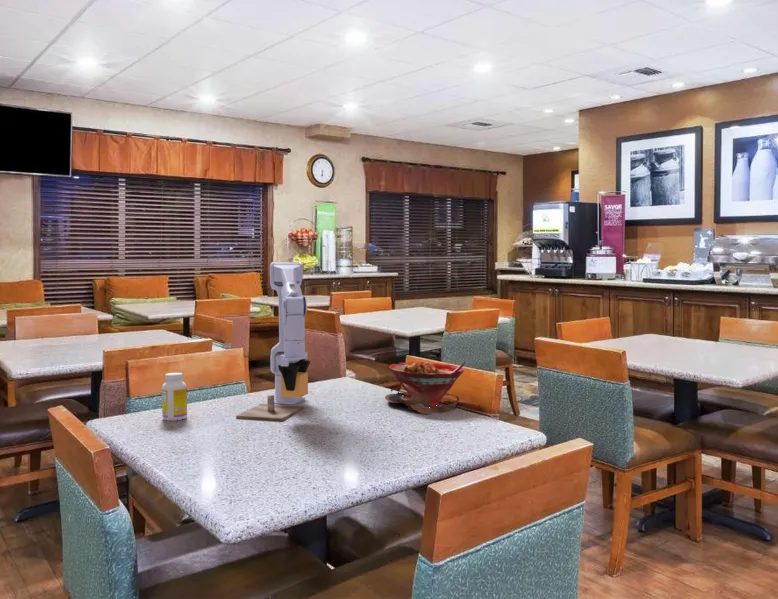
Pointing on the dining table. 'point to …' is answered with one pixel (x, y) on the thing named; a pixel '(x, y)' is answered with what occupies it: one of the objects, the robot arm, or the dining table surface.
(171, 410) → the supplement bottle
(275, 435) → the dining table surface
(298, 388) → the orange hollow cube
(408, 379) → the stew
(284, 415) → the wooden board with peg
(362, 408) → the dining table surface
